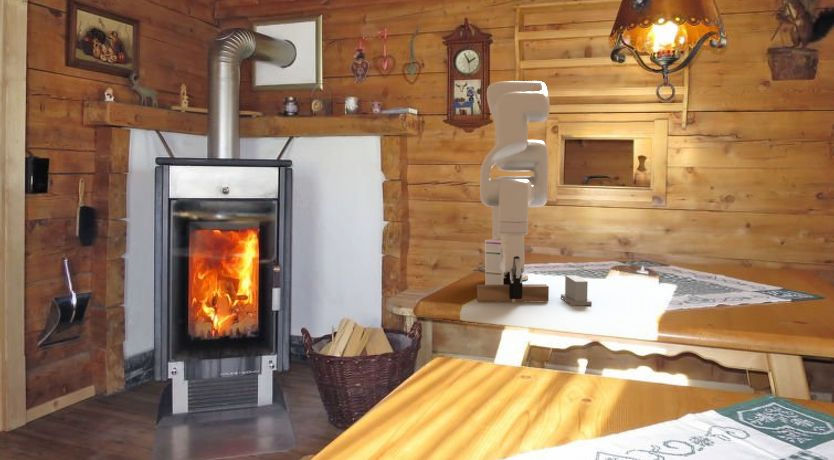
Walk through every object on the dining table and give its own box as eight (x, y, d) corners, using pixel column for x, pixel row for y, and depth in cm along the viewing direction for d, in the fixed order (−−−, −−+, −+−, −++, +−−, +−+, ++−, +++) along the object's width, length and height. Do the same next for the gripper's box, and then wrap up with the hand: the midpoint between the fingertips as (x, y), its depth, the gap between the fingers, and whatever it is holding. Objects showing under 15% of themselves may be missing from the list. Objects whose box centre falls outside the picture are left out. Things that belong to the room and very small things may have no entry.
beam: (476, 299, 184) (476, 284, 184) (545, 299, 185) (545, 283, 185) (478, 302, 181) (478, 286, 180) (548, 301, 182) (548, 286, 181)
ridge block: (560, 297, 187) (561, 275, 186) (579, 297, 187) (579, 275, 187) (571, 305, 176) (572, 282, 176) (591, 305, 176) (592, 281, 176)
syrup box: (502, 292, 195) (503, 240, 193) (484, 290, 198) (484, 238, 197) (512, 289, 199) (513, 238, 198) (494, 287, 203) (495, 237, 202)
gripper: (493, 225, 190) (492, 290, 191) (504, 231, 172) (503, 302, 174) (521, 225, 190) (520, 289, 192) (535, 231, 173) (533, 301, 174)
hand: (512, 295), depth 183 cm, fingers open, 8 cm apart
